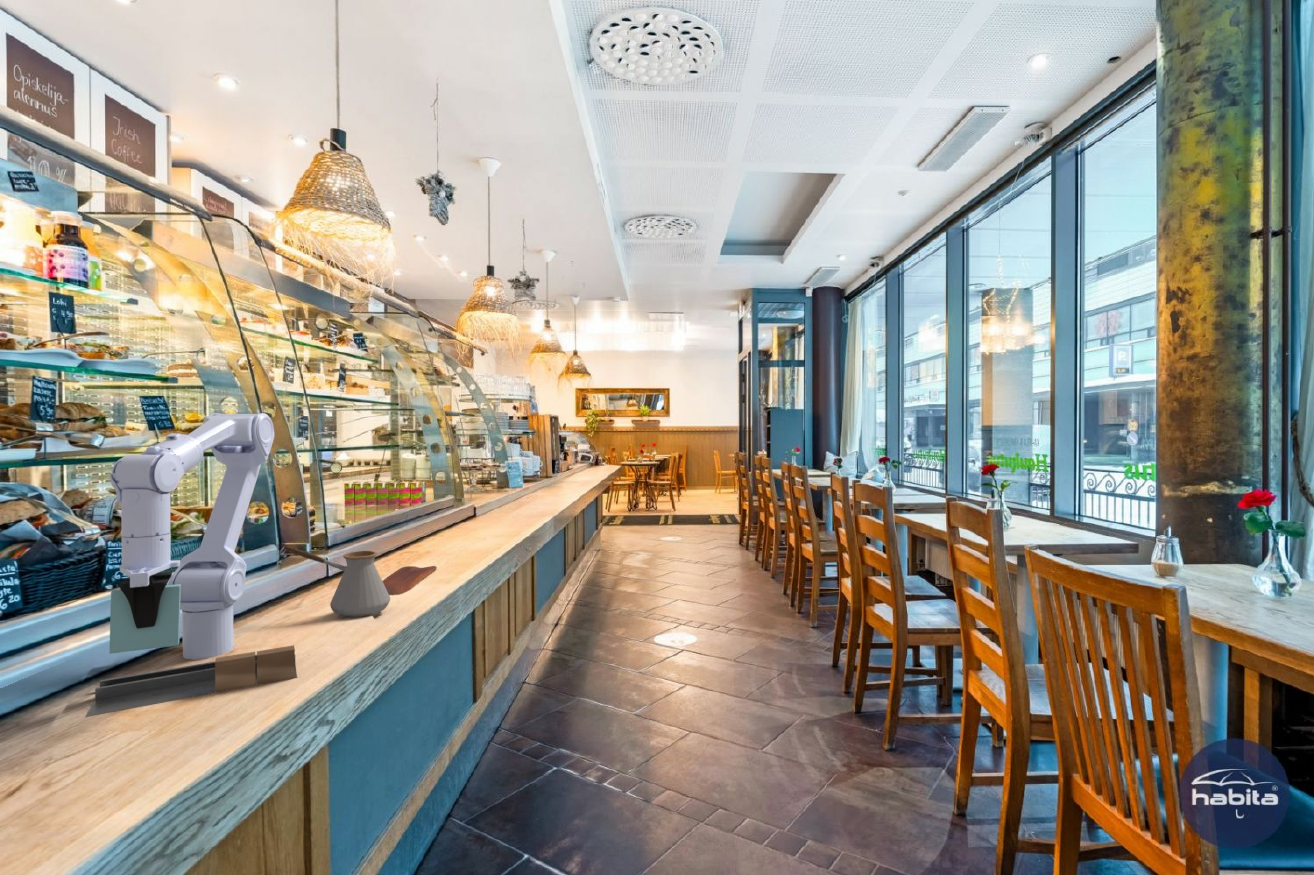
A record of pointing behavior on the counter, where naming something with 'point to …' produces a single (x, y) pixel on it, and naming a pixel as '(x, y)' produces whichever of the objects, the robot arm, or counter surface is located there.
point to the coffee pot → (355, 584)
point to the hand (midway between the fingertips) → (146, 625)
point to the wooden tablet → (406, 579)
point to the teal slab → (160, 635)
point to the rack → (156, 688)
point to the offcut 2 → (275, 664)
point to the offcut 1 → (235, 671)
